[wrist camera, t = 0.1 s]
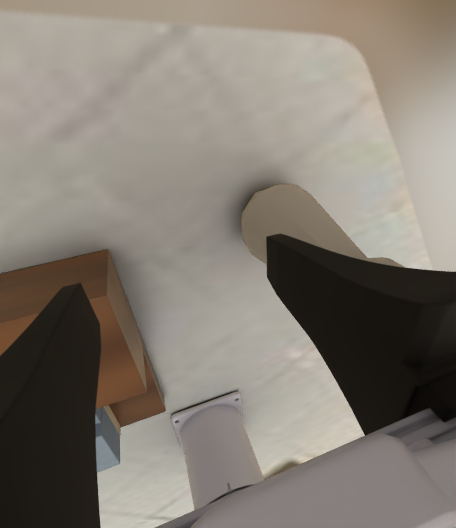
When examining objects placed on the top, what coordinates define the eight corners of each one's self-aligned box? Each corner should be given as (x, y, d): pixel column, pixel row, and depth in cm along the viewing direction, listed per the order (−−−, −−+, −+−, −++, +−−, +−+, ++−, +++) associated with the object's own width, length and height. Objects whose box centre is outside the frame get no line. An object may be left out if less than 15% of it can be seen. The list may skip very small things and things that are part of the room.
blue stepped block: (120, 425, 28) (121, 465, 25) (82, 438, 27) (79, 481, 24) (90, 373, 23) (87, 414, 21) (45, 387, 23) (35, 432, 20)
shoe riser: (163, 397, 30) (172, 451, 26) (38, 440, 28) (23, 509, 23) (108, 248, 20) (106, 295, 16) (-95, 295, 18) (-164, 365, 13)
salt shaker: (217, 228, 22) (308, 359, 12) (259, 160, 21) (408, 242, 10) (272, 255, 25) (384, 378, 15) (313, 197, 24) (471, 290, 13)
